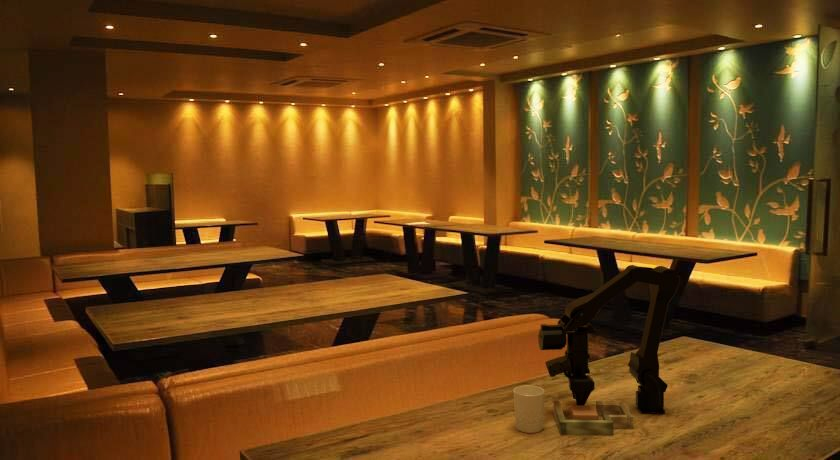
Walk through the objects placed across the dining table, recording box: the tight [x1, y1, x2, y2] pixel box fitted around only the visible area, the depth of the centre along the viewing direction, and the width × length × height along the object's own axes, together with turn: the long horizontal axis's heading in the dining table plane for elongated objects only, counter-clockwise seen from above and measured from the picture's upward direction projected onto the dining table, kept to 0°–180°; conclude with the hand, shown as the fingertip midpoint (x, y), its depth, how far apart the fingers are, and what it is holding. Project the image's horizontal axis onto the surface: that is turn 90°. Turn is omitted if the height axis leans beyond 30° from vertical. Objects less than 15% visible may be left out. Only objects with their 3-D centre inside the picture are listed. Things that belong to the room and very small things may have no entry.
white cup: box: [512, 385, 546, 434], centre depth 171 cm, size 8×8×10 cm
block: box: [569, 404, 599, 420], centre depth 172 cm, size 6×7×4 cm
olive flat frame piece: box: [552, 400, 634, 436], centre depth 174 cm, size 19×16×3 cm
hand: (577, 404), depth 181 cm, fingers open, 8 cm apart
